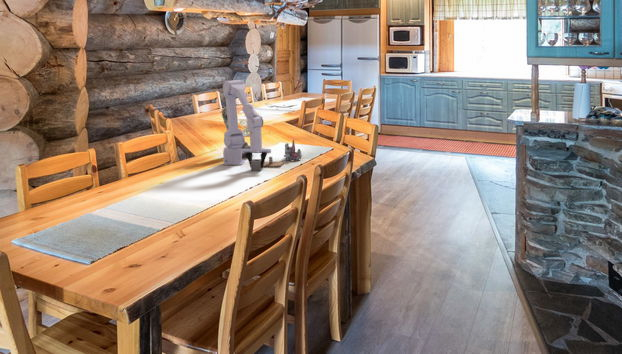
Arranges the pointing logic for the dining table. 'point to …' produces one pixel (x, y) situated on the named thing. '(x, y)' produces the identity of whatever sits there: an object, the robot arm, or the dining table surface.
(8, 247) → the dining table surface
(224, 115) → the statue
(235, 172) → the dining table surface
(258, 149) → the robot arm
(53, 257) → the dining table surface
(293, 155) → the red grey chunky piece
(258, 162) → the collar
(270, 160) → the shaft block
